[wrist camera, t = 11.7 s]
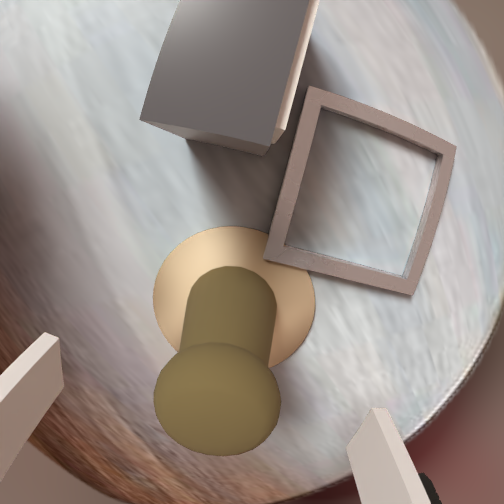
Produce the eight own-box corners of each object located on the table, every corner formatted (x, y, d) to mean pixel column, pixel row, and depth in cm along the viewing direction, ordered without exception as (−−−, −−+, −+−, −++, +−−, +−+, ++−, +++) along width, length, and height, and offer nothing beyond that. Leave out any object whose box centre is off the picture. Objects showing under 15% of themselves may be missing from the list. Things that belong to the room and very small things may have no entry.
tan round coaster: (146, 351, 22) (145, 353, 22) (168, 208, 19) (167, 208, 19) (286, 384, 23) (287, 386, 22) (335, 250, 20) (336, 251, 20)
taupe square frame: (262, 255, 20) (262, 258, 19) (306, 88, 17) (309, 85, 16) (408, 291, 21) (412, 295, 20) (450, 146, 18) (456, 146, 17)
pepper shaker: (195, 349, 22) (160, 471, 11) (179, 270, 20) (111, 369, 9) (280, 343, 21) (296, 469, 11) (272, 260, 20) (292, 362, 9)
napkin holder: (184, 138, 18) (139, 119, 10) (226, 4, 16) (213, -67, 8) (270, 158, 18) (280, 149, 11) (306, 21, 16) (332, -47, 8)
